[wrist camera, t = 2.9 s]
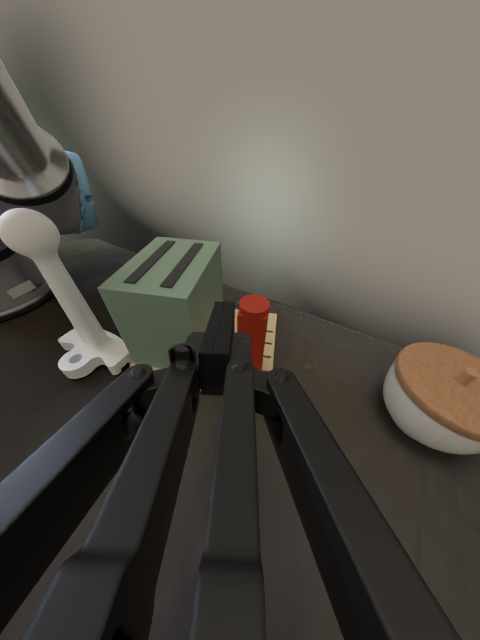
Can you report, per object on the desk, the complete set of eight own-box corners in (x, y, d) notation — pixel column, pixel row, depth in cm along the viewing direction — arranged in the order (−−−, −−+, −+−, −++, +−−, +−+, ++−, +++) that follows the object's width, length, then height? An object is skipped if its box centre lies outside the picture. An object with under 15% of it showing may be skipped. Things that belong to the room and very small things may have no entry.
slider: (260, 380, 27) (269, 314, 20) (235, 376, 28) (235, 310, 21) (262, 361, 30) (271, 295, 22) (239, 357, 30) (240, 292, 23)
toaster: (269, 403, 28) (287, 317, 18) (132, 379, 30) (83, 291, 20) (275, 320, 39) (288, 241, 30) (176, 307, 41) (159, 230, 32)
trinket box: (470, 409, 28) (540, 363, 21) (474, 496, 21) (576, 466, 15) (378, 366, 32) (413, 318, 26) (358, 426, 26) (398, 381, 19)
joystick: (142, 354, 33) (79, 211, 20) (98, 396, 28) (-25, 241, 15) (90, 331, 37) (8, 195, 23) (43, 364, 31) (-97, 215, 18)
